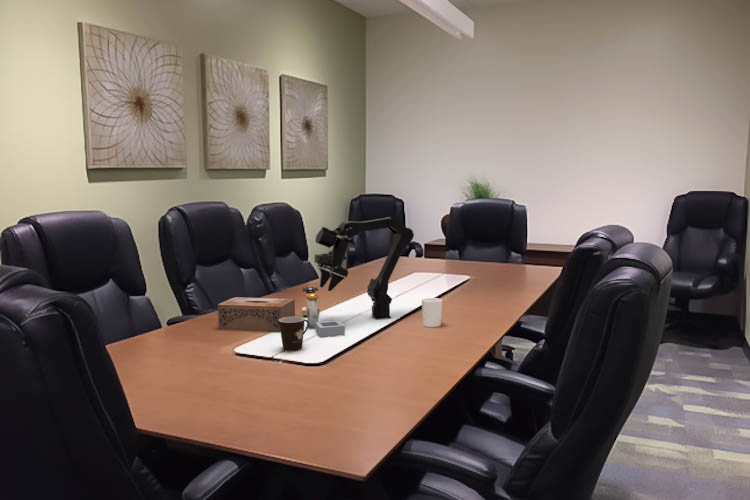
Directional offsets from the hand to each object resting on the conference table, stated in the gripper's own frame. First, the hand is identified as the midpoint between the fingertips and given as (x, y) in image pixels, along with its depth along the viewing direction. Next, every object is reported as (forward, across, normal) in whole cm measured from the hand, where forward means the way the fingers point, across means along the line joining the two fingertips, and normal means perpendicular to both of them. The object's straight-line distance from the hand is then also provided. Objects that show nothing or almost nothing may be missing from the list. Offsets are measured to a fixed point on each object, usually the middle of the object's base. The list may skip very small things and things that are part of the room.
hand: (325, 289), depth 236 cm
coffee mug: (+21, +28, -13) cm, 37 cm away
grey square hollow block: (+14, +15, +2) cm, 21 cm away
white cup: (-1, +22, +38) cm, 44 cm away
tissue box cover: (+23, -9, -17) cm, 30 cm away
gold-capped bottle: (+15, +3, 0) cm, 16 cm away
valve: (+13, -15, +5) cm, 21 cm away
